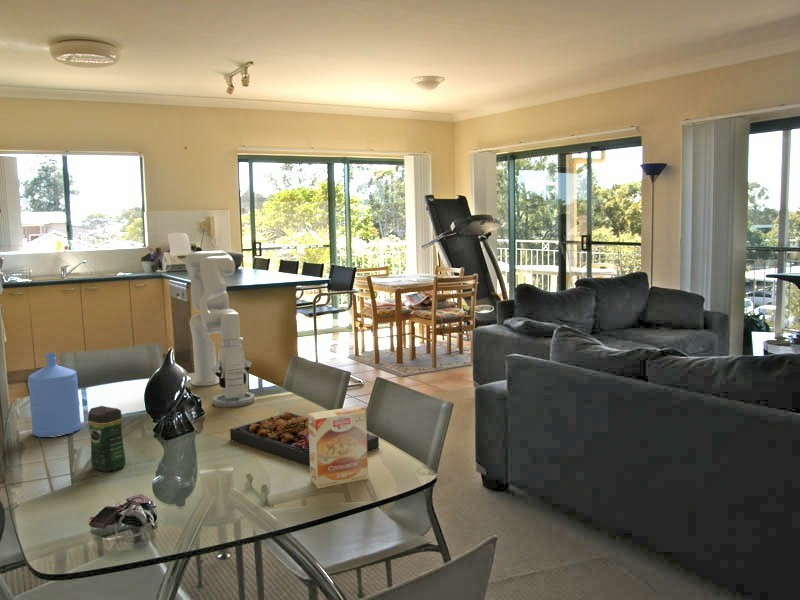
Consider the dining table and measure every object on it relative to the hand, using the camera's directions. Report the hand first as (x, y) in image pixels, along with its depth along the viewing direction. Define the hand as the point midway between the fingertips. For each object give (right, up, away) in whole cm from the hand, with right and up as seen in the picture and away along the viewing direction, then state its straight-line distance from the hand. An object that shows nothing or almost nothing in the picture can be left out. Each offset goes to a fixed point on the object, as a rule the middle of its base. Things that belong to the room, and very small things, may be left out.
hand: (233, 385), depth 284 cm
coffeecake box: (+50, -16, -87) cm, 101 cm away
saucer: (0, -7, +1) cm, 7 cm away
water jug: (-54, -13, -34) cm, 65 cm away
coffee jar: (-20, -16, -72) cm, 76 cm away
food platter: (+35, -13, -54) cm, 66 cm away
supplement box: (0, -4, +1) cm, 4 cm away
